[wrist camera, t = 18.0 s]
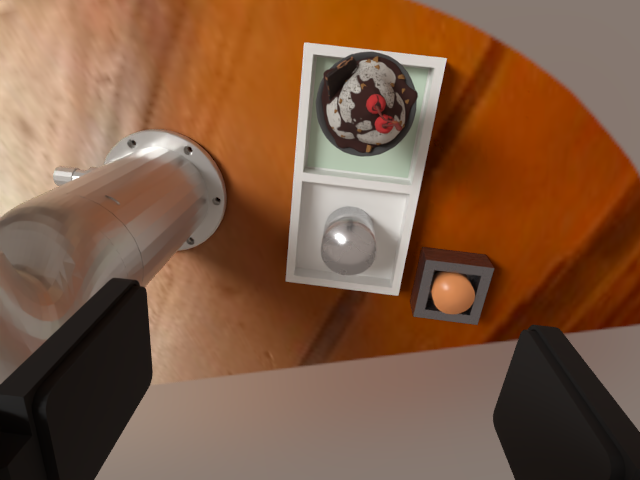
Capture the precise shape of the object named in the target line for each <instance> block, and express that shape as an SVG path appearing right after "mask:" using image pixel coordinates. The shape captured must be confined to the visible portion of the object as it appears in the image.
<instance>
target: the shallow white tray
mask: <svg viewBox="0 0 640 480" xmlns="http://www.w3.org/2000/svg"><path fill="white" fill-rule="evenodd" d="M371 51H372V52H377V53H382V54H385V55H388V56H390V57H392V58H393V59H395V60H397V61H398V62H399V63H400V64H401V65H402V66H403V67H404V68H405V69H406V71H407V72H408V73H409V75H410V77H411V79H412V82H413V84H414V87H415V90H416V91H417V93H418V98H417V104H416V114H415V117H414V121H413V124H412V126H411V128H410V130H409V132H408V133H407V135H406V136H405V137H404V138H403V140H402V141H401V142H400V143H398V144H397V145H396V146H395V147H394V148H392V149H390V150H388V151H386V152H384V153H382V154H380V155H374V156H364V157H360V156H355V155H351V154H348V153H345V152H343V151H341V150H339V149H338V148H336V147H335V146H334V145H333V144H331V142H330V141H329V140H328V139H327V138H326V137H325V135H324V133H323V132H322V130H321V127H320V125H319V123H318V119H317V113H316V98H317V92H318V89H319V85H320V83H321V81H322V79H323V73H324V71H326V70H328V69H330V68H331V67H332V66H333V65H334V64H335V63H336V62H338V61H339V60H341V59H343V58H345V57H347V56H349V55H351V54H355V53H360V52H371ZM446 60H447V58H440V57H431V56H422V55H413V54H404V53H395V52H386V51H377V50H368V49H359V48H349V47H340V46H331V45H322V44H313V43H304V52H303V64H302V77H301V90H300V103H299V116H298V128H297V141H296V154H295V167H294V179H293V192H292V205H291V218H290V231H289V243H288V256H287V269H286V282H294V283H302V284H310V285H317V286H325V287H333V288H341V289H349V290H357V291H365V292H372V293H380V294H388V295H396V296H398V295H399V290H400V285H401V280H402V275H403V270H404V265H405V260H406V256H407V251H408V246H409V241H410V236H411V231H412V226H413V221H414V216H415V212H416V207H417V202H418V197H419V192H420V187H421V182H422V177H423V172H424V168H425V163H426V158H427V153H428V148H429V143H430V138H431V133H432V128H433V124H434V119H435V114H436V109H437V104H438V99H439V94H440V89H441V84H442V80H443V75H444V70H445V65H446ZM346 206H352V207H357V208H360V209H362V210H364V211H365V212H366V213H367V214H368V215H369V216H370V217H371V219H372V221H373V224H374V231H375V241H376V257H375V260H374V262H373V263H372V265H371V266H370V267H369V268H368V269H367V270H365V271H364V272H362V273H360V274H357V275H349V276H348V275H341V274H338V273H336V272H334V271H332V270H331V269H329V268H328V267H327V266H326V264H325V263H324V261H323V259H322V256H321V244H322V238H323V233H324V227H325V223H326V220H327V218H328V217H329V215H330V214H331V213H332V212H334V211H335V210H337V209H339V208H341V207H346Z"/></svg>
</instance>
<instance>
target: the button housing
mask: <svg viewBox="0 0 640 480" xmlns="http://www.w3.org/2000/svg"><path fill="white" fill-rule="evenodd" d="M438 271H446V272H454V273H462V274H466V275H467V277H468V279H469V281H470V283H471V285H472V287H473V289H474V292H475V299H474V302H473V304H472V305H471V307H470V308H469V309H467V310H466V311H464V312H462V313H459V314H446V313H443V312H441V311H440V310H439V309H438V308H437V307H436V306H435V304H434V301H433V298H432V294H431V291H430V286H431V282H432V277H433V276H434V274H436V273H437V272H438ZM493 271H494V267H493V265H492V264H491V262H490V260H489V259H488V257H487V256H486V255H484V254H476V253H468V252H460V251H452V250H443V249H435V248H427V247H422V248H421V253H420V257H419V262H418V267H417V271H416V276H415V280H414V285H413V289H412V294H411V299H410V304H411V308H412V313H413V317H421V318H429V319H437V320H444V321H452V322H460V323H468V324H475V325H477V324H478V321H479V318H480V314H481V311H482V308H483V304H484V301H485V298H486V294H487V291H488V288H489V284H490V281H491V278H492V275H493Z"/></svg>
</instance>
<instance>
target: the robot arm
mask: <svg viewBox="0 0 640 480" xmlns="http://www.w3.org/2000/svg"><path fill="white" fill-rule="evenodd" d="M134 141H135V142H136V144H135V143H134ZM189 147H191V148H192V150H193V151H190V150H189ZM53 178H54V182H55V184H56V185H58V186H59V187H56V188H54V189H52V190H50V191H48V192H45V193H43V194H41V195H39V196H37V197H34V198H32V199H30V200H28V201H26V202H24V203H21V204H20V205H18V206H16V207H14V208H13V209H11V210H10V211H8V212H7V213H6V214H4V215H3V216H2V217H1V218H0V480H94V479H95V477H96V476H97V474H98V472H99V470H100V469H101V467H102V465H103V464H104V462H105V460H106V459H107V457H108V455H109V454H110V452H111V450H112V449H113V447H114V445H115V443H116V442H117V440H118V438H119V437H120V435H121V433H122V431H123V430H124V428H125V427H126V425H127V423H128V422H129V420H130V418H131V416H132V415H133V413H134V411H135V410H136V408H137V406H138V405H139V403H140V401H141V400H142V398H143V396H144V395H145V393H146V391H147V389H148V388H149V386H150V383H151V380H152V358H151V345H150V331H149V318H148V305H147V292H146V289H145V287H146V285H147V284H148V283H149V282H150V281H151V280H152V279H153V278H154V276H155V275H156V274H157V273H158V272H159V271H160V270H161V269H162V267H163V266H164V265H165V264H166V263H167V262H168V261H169V260H170V258H171V257H172V256H173V255H174V254H175V253H176V252H177V251H180V250H187V249H190V248H193V247H196V246H198V245H200V244H201V243H203V242H205V241H206V240H207V239H208V238H209V237H210V236H211V235H212V234H213V233H214V232H215V231H216V229H217V228H218V227H219V225H220V223H221V221H222V219H223V217H224V213H225V210H226V201H227V195H226V187H225V183H224V180H223V177H222V174H221V172H220V170H219V168H218V166H217V164H216V163H215V161H214V160H213V159H212V158H211V156H210V155H209V154H208V152H206V151H205V150H204V149H203V148H202V147H201V146H200V145H199V144H197V143H196V142H194V141H193V140H191V139H190V138H188V137H186V136H184V135H181V134H179V133H176V132H173V131H168V130H164V129H149V130H143V131H139V132H136V133H133V134H131V135H129V136H127V137H125V138H123V139H122V140H120V141H119V142H118V143H117V144H116V145H115V146H114V147H113V148H112V149H111V150H110V152H109V154H108V155H107V157H106V159H105V162H104V164H103V166H101V167H99V168H97V167H90V168H89V169H88V170H80V169H78V168H72V167H64V166H59V167H57V168H56V169H55V170H54V174H53ZM217 197H218V198H219V199H220V201H219V200H217ZM192 238H193V239H194V240H193V239H192ZM493 422H494V427H495V430H496V432H497V435H498V437H499V440H500V442H501V445H502V447H503V450H504V453H505V455H506V458H507V460H508V463H509V465H510V468H511V470H512V472H513V475H514V478H515V480H640V432H639V431H638V429H637V428H636V427H635V426H634V424H633V423H632V422H631V421H630V419H629V418H628V417H627V415H626V414H625V413H624V411H623V410H622V409H621V408H620V406H619V405H618V404H617V402H616V401H615V400H614V398H613V397H612V396H611V395H610V393H609V392H608V391H607V389H606V388H605V387H604V386H603V384H602V383H601V382H600V381H599V379H598V378H597V377H596V375H595V374H594V373H593V372H592V370H591V369H590V368H589V366H588V365H587V364H586V362H585V361H584V360H583V359H582V357H581V356H580V355H579V353H578V352H577V351H576V350H575V348H574V347H573V346H572V344H571V343H570V342H569V340H568V339H567V338H566V337H565V335H564V334H563V333H562V331H561V330H560V329H559V328H556V327H548V326H539V325H532V326H530V327H529V328H528V330H523V331H522V332H521V334H520V337H519V340H518V342H517V345H516V348H515V351H514V354H513V357H512V360H511V363H510V366H509V369H508V372H507V375H506V378H505V381H504V383H503V387H502V389H501V392H500V396H499V398H498V401H497V404H496V407H495V410H494V414H493Z"/></svg>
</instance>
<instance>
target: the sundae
mask: <svg viewBox="0 0 640 480" xmlns="http://www.w3.org/2000/svg"><path fill="white" fill-rule="evenodd" d="M417 98H418V93H417V91H416V90H415V87H414V84H413V82H412V79H411V77H410V75H409V73H408V72H407V71H406V69H405V68H404V67H403V66H402V65H401V64H400V63H399V62H398V61H397V60H395V59H393V58H392V57H390V56H388V55H385V54H382V53H377V52H372V51H371V52H360V53H355V54H351V55H349V56H347V57H345V58H343V59H341V60H339V61H338V62H336V63H335V64H334V65H333V66H332V67H331V68H330V69H328V70H326V71H324V73H323V79H322V81H321V83H320V85H319V89H318V92H317V98H316V113H317V119H318V123H319V125H320V127H321V130H322V132H323V133H324V135H325V137H326V138H327V139H328V140H329V141H330V142H331V144H333V145H334V146H335V147H336V148H338V149H339V150H341V151H343V152H345V153H348V154H351V155H355V156H360V157H364V156H374V155H380V154H382V153H384V152H386V151H388V150H390V149H392V148H394V147H395V146H396V145H397V144H398V143H400V142H401V141H402V140H403V138H404V137H405V136H406V135H407V133H408V132H409V130H410V128H411V126H412V124H413V121H414V117H415V114H416V104H417Z"/></svg>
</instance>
